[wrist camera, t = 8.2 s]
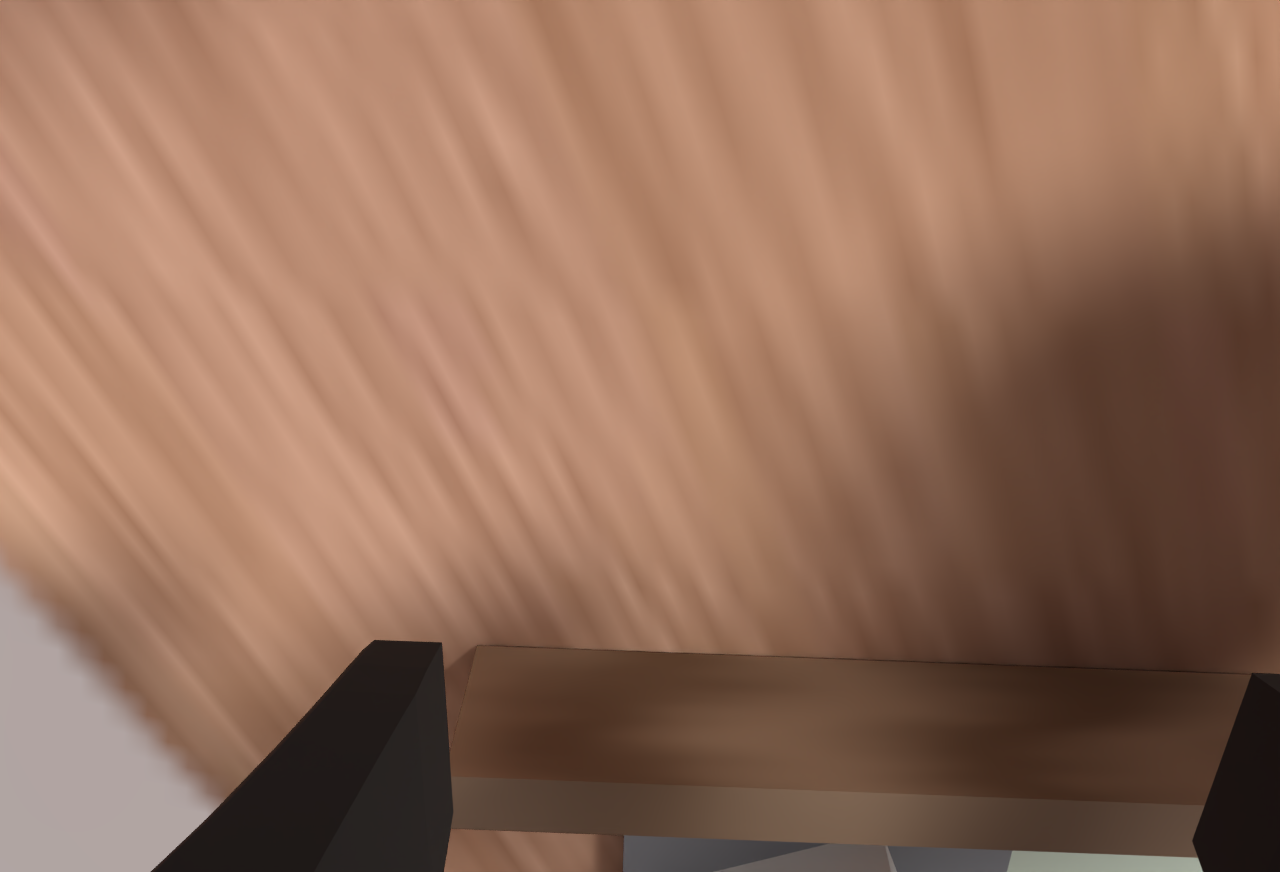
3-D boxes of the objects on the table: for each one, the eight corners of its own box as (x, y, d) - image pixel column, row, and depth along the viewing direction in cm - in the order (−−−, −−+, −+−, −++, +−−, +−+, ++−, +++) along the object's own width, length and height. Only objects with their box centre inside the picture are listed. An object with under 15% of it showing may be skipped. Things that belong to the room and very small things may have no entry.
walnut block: (1503, 684, 21) (1649, 822, 18) (1479, 731, 21) (1618, 874, 18) (477, 645, 21) (443, 776, 18) (479, 693, 22) (447, 828, 18)
